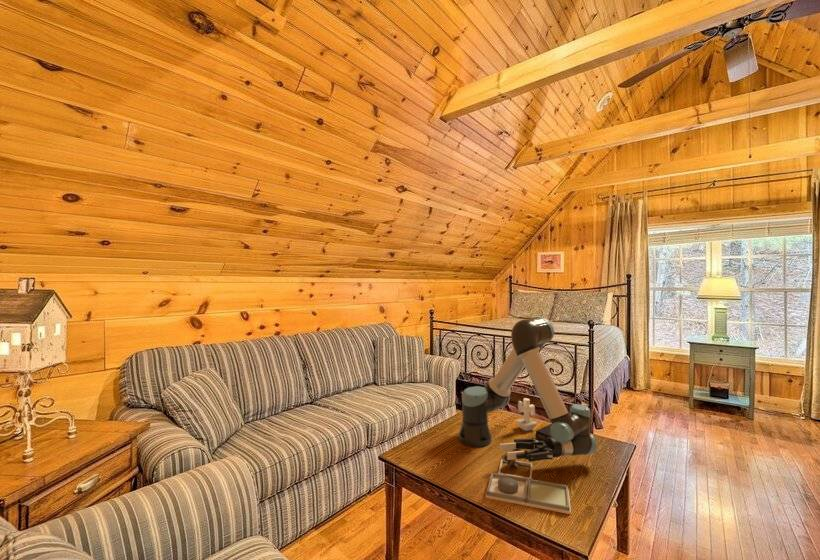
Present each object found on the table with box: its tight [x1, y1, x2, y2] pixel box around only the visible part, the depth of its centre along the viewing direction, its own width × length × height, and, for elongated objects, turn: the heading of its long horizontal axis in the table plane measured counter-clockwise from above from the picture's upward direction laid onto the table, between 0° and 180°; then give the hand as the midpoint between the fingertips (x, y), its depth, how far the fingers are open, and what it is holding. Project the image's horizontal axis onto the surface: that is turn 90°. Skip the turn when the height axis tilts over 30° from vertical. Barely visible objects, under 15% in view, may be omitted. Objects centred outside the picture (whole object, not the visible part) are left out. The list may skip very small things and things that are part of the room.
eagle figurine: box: [500, 449, 523, 469], centre depth 152 cm, size 8×7×9 cm
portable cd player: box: [534, 423, 552, 441], centre depth 177 cm, size 16×17×4 cm
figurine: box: [515, 397, 538, 432], centre depth 189 cm, size 7×9×15 cm
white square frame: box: [497, 458, 533, 482], centre depth 150 cm, size 12×12×1 cm
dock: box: [485, 472, 572, 515], centre depth 135 cm, size 27×13×3 cm, turn 70°
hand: (503, 451), depth 149 cm, fingers closed on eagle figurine, 6 cm apart
